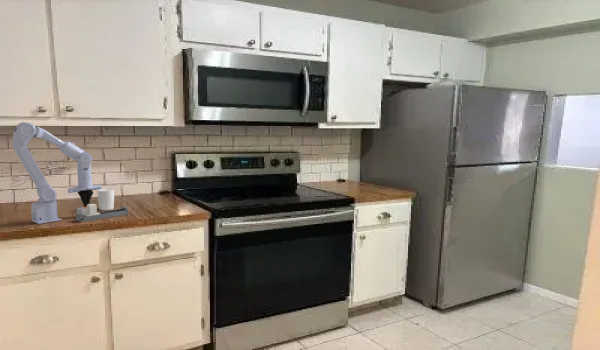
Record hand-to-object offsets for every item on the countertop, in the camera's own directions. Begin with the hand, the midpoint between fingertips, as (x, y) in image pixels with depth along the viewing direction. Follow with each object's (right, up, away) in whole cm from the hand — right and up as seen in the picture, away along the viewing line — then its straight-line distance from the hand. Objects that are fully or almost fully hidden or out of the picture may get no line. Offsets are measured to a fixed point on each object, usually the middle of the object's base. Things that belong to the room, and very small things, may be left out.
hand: (86, 206), depth 189 cm
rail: (+8, -5, -1) cm, 10 cm away
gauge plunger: (0, -4, +1) cm, 4 cm away
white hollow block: (0, -5, +1) cm, 5 cm away
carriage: (+5, -4, -5) cm, 8 cm away
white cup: (+1, -3, +17) cm, 17 cm away
